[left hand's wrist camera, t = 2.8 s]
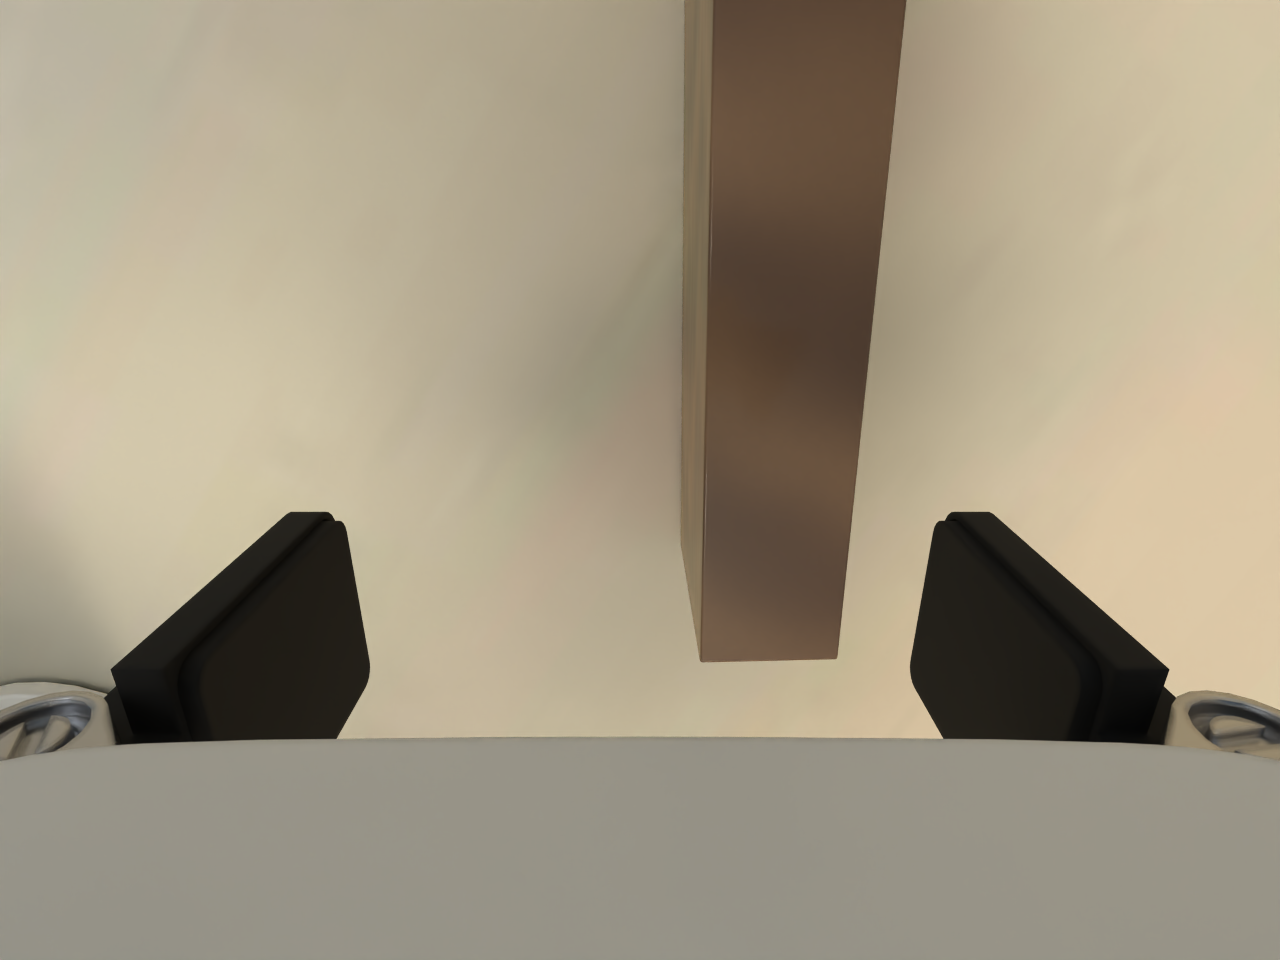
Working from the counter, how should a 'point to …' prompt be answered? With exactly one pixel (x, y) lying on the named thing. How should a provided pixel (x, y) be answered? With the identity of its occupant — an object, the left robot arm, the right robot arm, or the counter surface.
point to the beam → (778, 308)
